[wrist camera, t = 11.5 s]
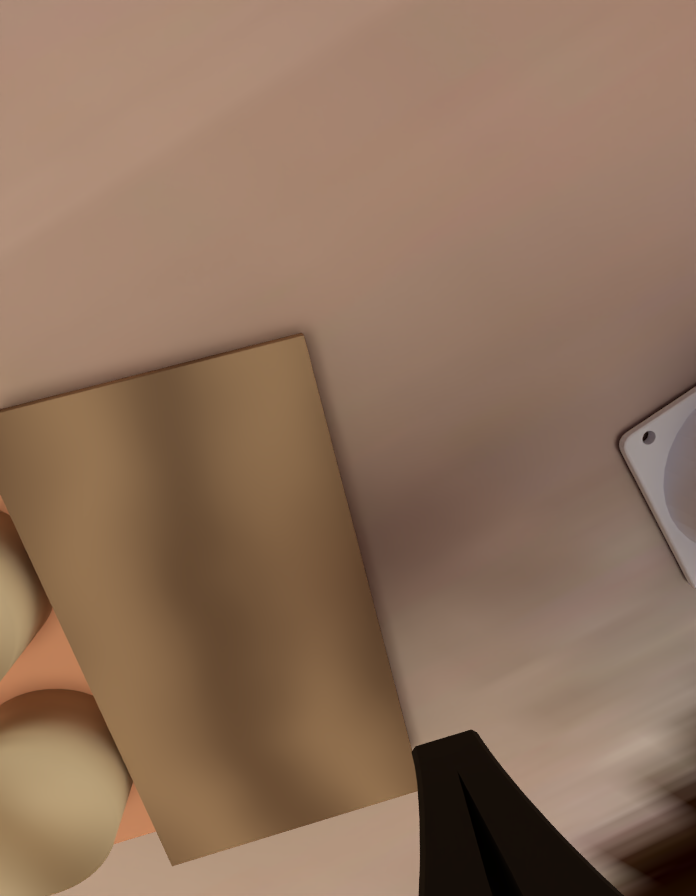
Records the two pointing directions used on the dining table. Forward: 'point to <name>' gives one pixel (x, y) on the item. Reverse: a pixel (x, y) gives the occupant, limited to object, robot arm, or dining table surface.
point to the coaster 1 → (18, 596)
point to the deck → (213, 592)
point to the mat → (58, 668)
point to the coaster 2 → (56, 791)
